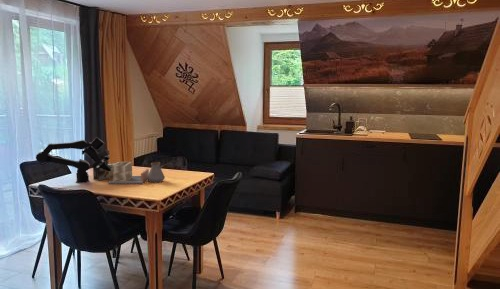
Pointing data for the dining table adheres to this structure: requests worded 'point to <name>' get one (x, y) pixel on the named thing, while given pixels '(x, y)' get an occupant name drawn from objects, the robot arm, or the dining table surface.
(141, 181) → the grey tray
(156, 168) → the coffee pot
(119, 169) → the box
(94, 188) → the dining table surface
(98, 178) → the coffee box
